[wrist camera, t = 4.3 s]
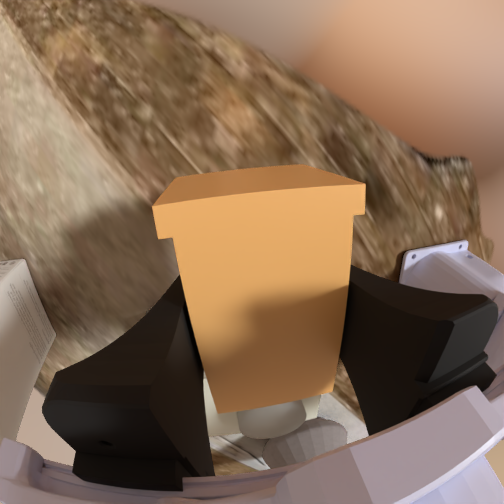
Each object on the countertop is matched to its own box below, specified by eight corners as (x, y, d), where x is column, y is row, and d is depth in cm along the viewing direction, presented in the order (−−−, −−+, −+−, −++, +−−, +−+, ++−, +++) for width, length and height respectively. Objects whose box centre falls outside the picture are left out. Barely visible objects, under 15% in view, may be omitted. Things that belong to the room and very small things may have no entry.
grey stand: (318, 286, 21) (345, 325, 17) (308, 397, 28) (322, 432, 23) (146, 311, 20) (135, 356, 15) (189, 416, 26) (190, 453, 22)
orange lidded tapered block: (302, 164, 11) (365, 183, 6) (303, 318, 14) (340, 388, 10) (175, 177, 10) (151, 206, 6) (204, 334, 14) (208, 414, 9)
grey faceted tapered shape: (241, 435, 30) (261, 538, 16) (321, 397, 28) (366, 506, 15) (309, 463, 38) (331, 528, 25) (366, 436, 37) (396, 500, 24)
